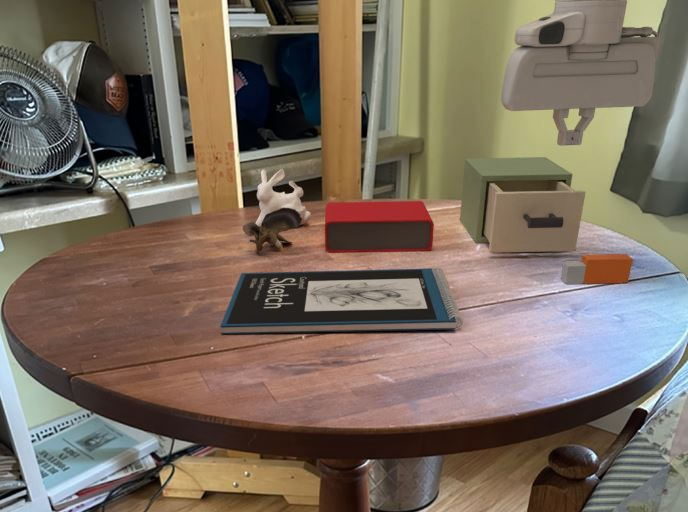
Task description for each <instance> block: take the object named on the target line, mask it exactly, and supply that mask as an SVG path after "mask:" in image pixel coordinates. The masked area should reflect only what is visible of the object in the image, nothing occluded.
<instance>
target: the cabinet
mask: <svg viewBox="0 0 688 512" xmlns="http://www.w3.org/2000/svg"><path fill="white" fill-rule="evenodd" d="M463 169H464V170H463V177H462V190H461V201H460V202H461V204H460V214H459V220H460V222H461V223H462V225H463V226H464V229H466V231H467V233H468V234H469V236H470V238H471V239H472V240H473V242H474V243H475V244H490V242H489V241H488V239H487V238H486V236H485V235H484V234H483V232H482V225H483V215H484V205H485V195H486V185H487V181H532V180H561V181H562V182H563V183H565V184H566V185H568V186H569V187H571V188H572V182H573V181H572V180H573V173H572V172H570V171H569V170H567V169H566V168H564V167H562V166H561V165H559V164H557V163H556V162H554V161H552V160H551V159H550V158H548V157H546V156H535V157H534V156H533V157H479V158H478V157H477V158H473V157H472V158H465V159H464V167H463Z"/></svg>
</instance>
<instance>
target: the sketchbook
mask: <svg viewBox="0 0 688 512" xmlns="http://www.w3.org/2000/svg"><path fill="white" fill-rule="evenodd" d="M463 324H464V319H463V317H462V314H461V312H460V310H459V307H458V305H457V302H456V299H455V297H454V294H453V292H452V290H451V287H450V285H449V281H448V280H447V277H446V275H445V273H444V270H443V269H442V268H441V267H439V266H435V267H433V268H431V267H430V268H396V269H395V268H394V269H393V268H391V269H389V268H388V269H357V270H356V269H355V270H354V269H352V270H351V269H349V270H347V269H346V270H313V271H311V270H310V271H308V270H307V271H274V272H273V271H269V272H241V273H240V276H239V279H238V281H237V283H236V286H235V288H234V290H233V293H232V296H231V298H230V301H229V304H228V306H227V308H226V311H225V313H224V316H223V319H222V321H221V323H220V326H219V327H220V334H221V335H248V334H250V335H251V334H253V335H254V334H296V333H297V334H298V333H299V334H303V333H342V332H345V333H347V332H350V333H351V332H387V331H389V332H390V331H391V332H392V331H433V330H435V331H437V330H441V331H443V330H454V331H455V330H459V329H460V328H461V327H463Z"/></svg>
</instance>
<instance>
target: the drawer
mask: <svg viewBox="0 0 688 512" xmlns="http://www.w3.org/2000/svg"><path fill="white" fill-rule="evenodd" d="M586 193H587V192H586V191H585V190H575V188H572V186H571V187H569V186H568V185H566V184H565V183H563V182H562V181H561V180H532V181H487V185H486V195H485V205H484V215H483V225H482V232H483V234H484V235H485V236H486V238H487V239H488V241H489V242H490V243H489V245H488V247H489V248H488V251H489V253H535V252H536V253H537V252H542V253H543V252H545V253H547V252H575V251H576V250H577V248H576V247H577V244H578V238H579V232H580V227H581V221H582V215H583V210H584V203H585V199H586Z"/></svg>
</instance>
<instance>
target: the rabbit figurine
mask: <svg viewBox="0 0 688 512" xmlns="http://www.w3.org/2000/svg"><path fill="white" fill-rule="evenodd" d="M260 171H261V172H260V178H261V183H259V184H258V185H257V192H256V198H257V200H258V201H259V203H258V207H259V209H260V213H259V215H258V218H257V219H256V221H255V222H254V223H255V224H257V225H258V226H260V227H261V225H262V224H261V223H262V221H263V219H264V217H265V215H266V214H268V213H272V212H273V211H276V210H279V209H281V208H284V207H285V208H290V209H295V210H296V211H298V213H299V214H300V217H301V218H302V220H301V223H300V224H299V225H300V226H303V225H304V224H306V223H308V222H309V221H310V219H311V216H312V213H311V212H310V211H309V210H307V208H306V206H305V205H303V204H302V200H301V197H303V196H304V190H303V188H302V187H301V186H298V185H297V184H296V183H295V182H294V181H293V180H290V181H289V182H288V185H289V186H290V187H292V188H293V191H292V192H291V193H286V191H282V192H277V191H274V190H273V186H274V185H276V184H277V183H279V182H280V181H282V180H283V179H284V178H285V175H286V174H285V170H284V169H283V168H281V169H279V170H278V171H277V172H275V173H274V174H273V175H272V176H271V178H270V179H269V180H268V177H267V174H268V172H267V170H266V169H262V170H260Z"/></svg>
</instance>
